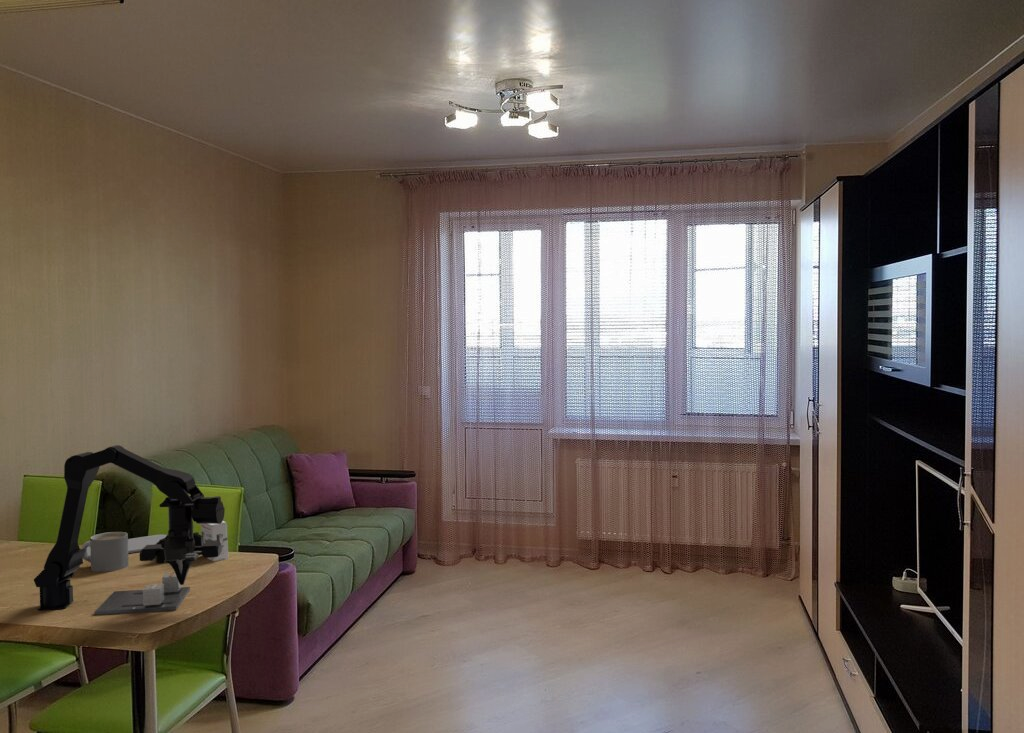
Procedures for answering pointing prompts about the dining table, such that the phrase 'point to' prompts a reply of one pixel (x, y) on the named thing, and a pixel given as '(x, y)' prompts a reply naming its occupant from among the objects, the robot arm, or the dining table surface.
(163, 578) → the fader
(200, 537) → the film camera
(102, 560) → the coffee mug
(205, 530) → the ink box
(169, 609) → the plate
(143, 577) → the dining table surface
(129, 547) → the tablet
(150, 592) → the fader
